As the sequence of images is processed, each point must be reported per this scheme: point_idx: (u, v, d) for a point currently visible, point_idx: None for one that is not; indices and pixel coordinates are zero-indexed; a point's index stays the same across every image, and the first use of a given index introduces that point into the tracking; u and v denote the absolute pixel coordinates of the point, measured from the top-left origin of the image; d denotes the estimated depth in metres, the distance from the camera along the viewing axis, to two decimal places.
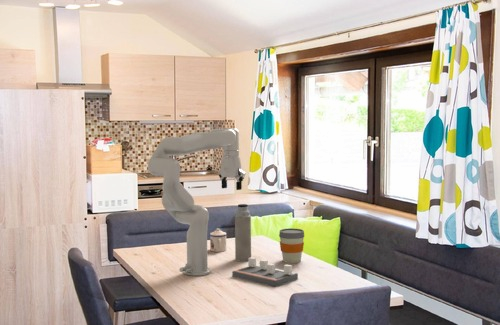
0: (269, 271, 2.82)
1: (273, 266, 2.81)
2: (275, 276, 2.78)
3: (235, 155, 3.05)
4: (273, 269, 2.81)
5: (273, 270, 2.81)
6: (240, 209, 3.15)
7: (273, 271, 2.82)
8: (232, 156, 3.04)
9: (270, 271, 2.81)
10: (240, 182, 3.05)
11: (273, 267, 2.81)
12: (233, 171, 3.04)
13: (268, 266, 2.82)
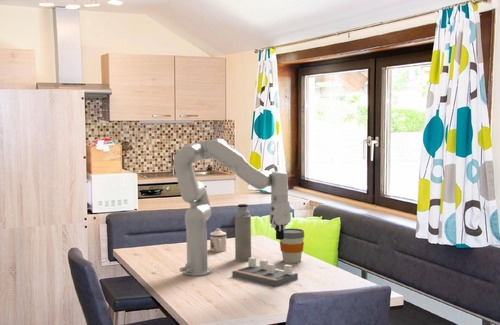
0: (269, 271, 2.82)
1: (273, 266, 2.81)
2: (275, 276, 2.78)
3: None
4: (273, 269, 2.81)
5: (273, 270, 2.81)
6: (240, 209, 3.15)
7: (273, 271, 2.82)
8: None
9: (270, 271, 2.81)
10: None
11: (273, 267, 2.81)
12: (289, 216, 2.86)
13: (268, 266, 2.82)
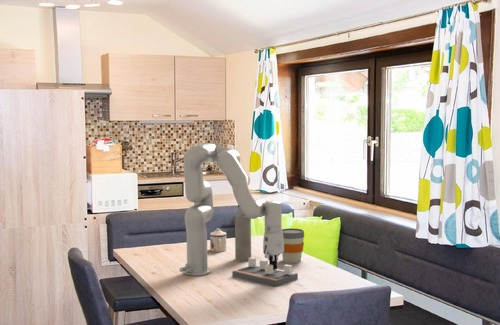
0: (267, 272, 2.81)
1: (271, 267, 2.80)
2: (275, 276, 2.78)
3: None
4: (271, 270, 2.81)
5: (271, 271, 2.81)
6: (240, 209, 3.15)
7: (271, 272, 2.81)
8: None
9: (268, 272, 2.80)
10: None
11: (271, 268, 2.80)
12: (283, 245, 2.84)
13: (266, 267, 2.81)
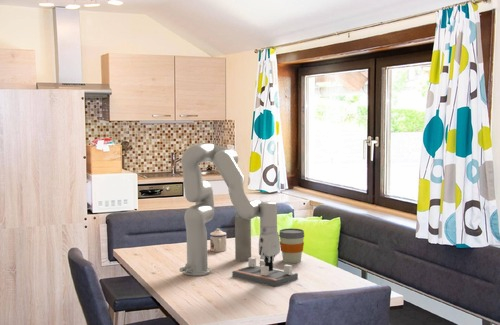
0: (263, 273, 2.79)
1: (267, 268, 2.78)
2: (275, 276, 2.78)
3: None
4: (267, 271, 2.78)
5: (267, 272, 2.78)
6: None
7: (267, 273, 2.78)
8: (276, 231, 2.81)
9: (264, 273, 2.78)
10: None
11: (267, 269, 2.78)
12: (278, 247, 2.82)
13: (262, 268, 2.79)
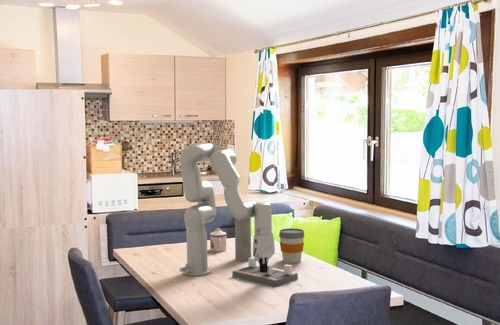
0: (266, 272, 2.80)
1: (270, 267, 2.80)
2: (275, 276, 2.78)
3: None
4: (270, 270, 2.80)
5: (270, 271, 2.80)
6: None
7: (270, 272, 2.80)
8: (271, 232, 2.78)
9: (267, 272, 2.80)
10: None
11: (270, 268, 2.80)
12: (273, 248, 2.79)
13: None
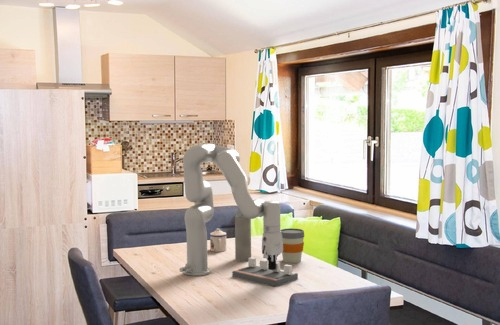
0: None
1: (278, 264, 2.84)
2: (275, 276, 2.78)
3: None
4: (278, 267, 2.84)
5: (278, 268, 2.84)
6: None
7: (278, 269, 2.84)
8: None
9: (275, 269, 2.84)
10: None
11: (278, 265, 2.84)
12: (282, 246, 2.83)
13: None
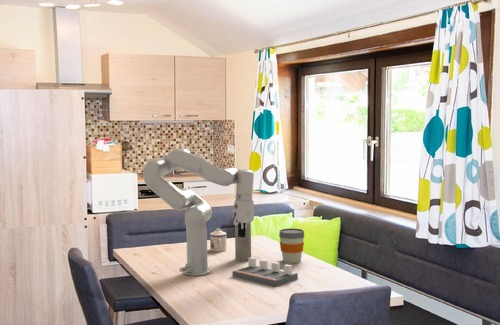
0: (274, 269, 2.84)
1: (278, 264, 2.84)
2: (275, 276, 2.78)
3: None
4: (278, 267, 2.84)
5: (278, 268, 2.84)
6: None
7: (278, 269, 2.84)
8: (251, 199, 2.87)
9: (275, 269, 2.84)
10: None
11: (278, 265, 2.84)
12: (252, 214, 2.89)
13: (273, 264, 2.85)
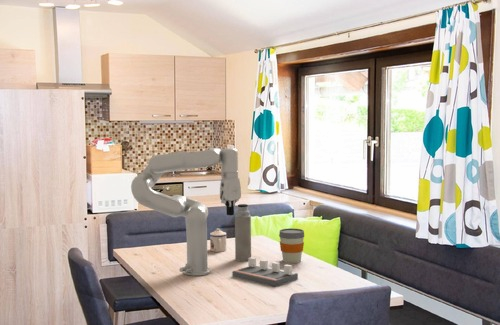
0: (274, 269, 2.84)
1: (278, 264, 2.84)
2: (275, 276, 2.78)
3: None
4: (278, 267, 2.84)
5: (278, 268, 2.84)
6: (240, 209, 3.15)
7: (278, 269, 2.84)
8: (237, 177, 2.91)
9: (275, 269, 2.84)
10: None
11: (278, 265, 2.84)
12: (239, 192, 2.92)
13: (273, 264, 2.85)
